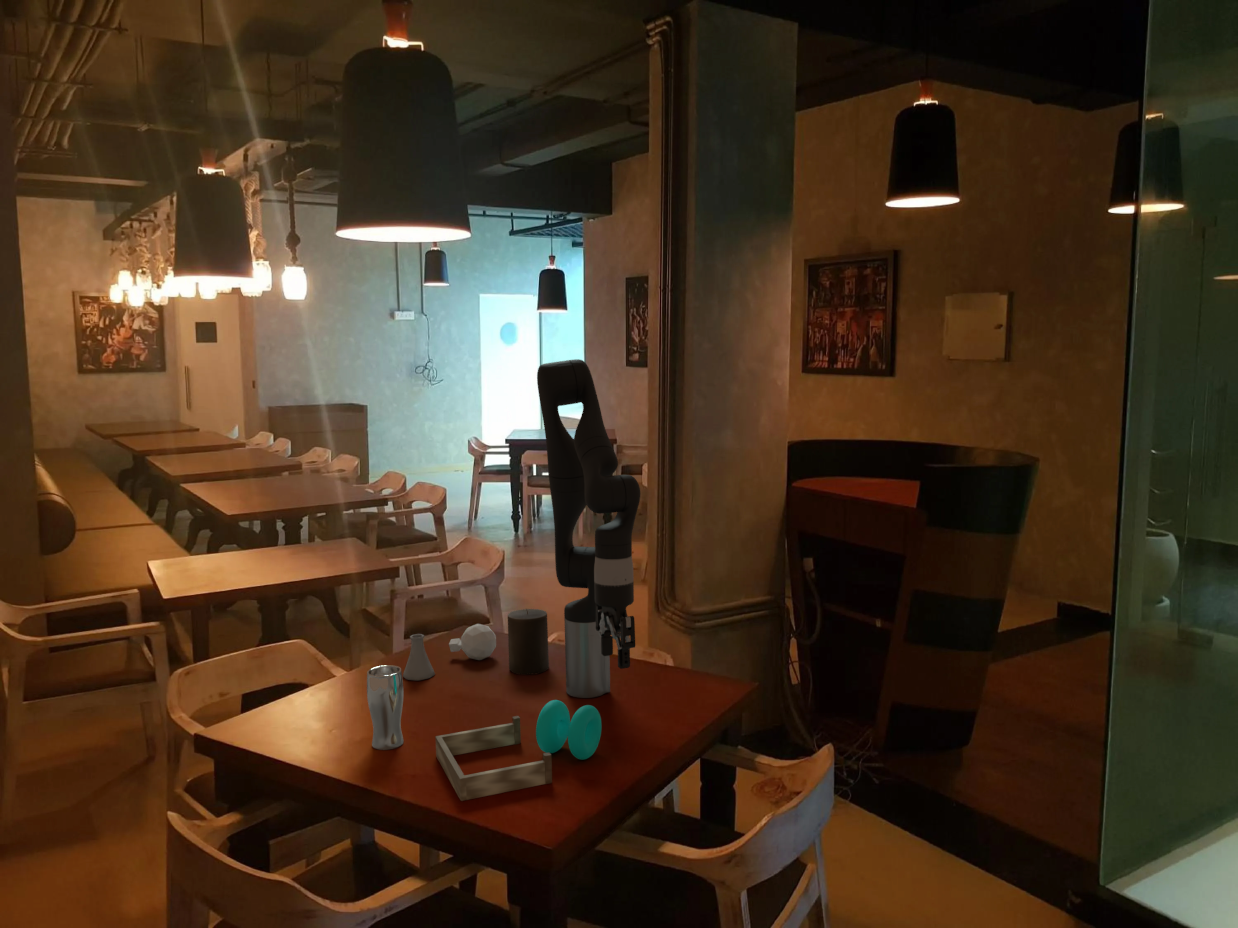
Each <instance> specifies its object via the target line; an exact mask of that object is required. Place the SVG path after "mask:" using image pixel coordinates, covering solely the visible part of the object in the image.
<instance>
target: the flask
mask: <svg viewBox="0 0 1238 928" xmlns="http://www.w3.org/2000/svg"><path fill="white" fill-rule="evenodd" d="M424 638H425V635H424V634H422V633H415V634H412V635H409V639H410V640H411V643H410V644H411V646H410V653H409V656H408V659H407V662H406V666H405V668H404V670H403V672H402V678H404V679H405V680H407V681H408V680H409V681H418V682H419V681H424V680H427V679H431V678H432V677H434V676H435V675H436V672H435V671H434V670H435V669H434V668H433V666H432V664H431V662H430V659H429V657H428V654H427V652H426V648H425V645H424Z"/></svg>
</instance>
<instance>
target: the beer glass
mask: <svg viewBox="0 0 1238 928" xmlns="http://www.w3.org/2000/svg"><path fill="white" fill-rule="evenodd" d="M403 681H404V680H403V671H402V668H401V667H400V666H398V665H392V664H391V665H389V664H388V665H387V664H386V665H379V666H374V667H372V668H370V669H368V670H367V672H366V697H367V703H368V709H369V713H370V719H371V721H372V727H373V729H372V730H373V731H372V733H373V735H372V741H371V746H372V748H373V749H376V750H378V751H379V750H380V751H389V750H394V749H397V748H399V747H401V746H402V745H403V744H404V736H403V733H402V728H401V727H402V726H401V724H402V723H401V722H402V720H401V719H402V714H403V713H402V712H403V704H404V682H403Z"/></svg>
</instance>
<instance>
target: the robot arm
mask: <svg viewBox="0 0 1238 928" xmlns="http://www.w3.org/2000/svg"><path fill="white" fill-rule="evenodd" d="M536 379H537V380H536V381H537V382H536V383H537V391H538V397H539V403H540V409H541V410H540V411H541V415H542V421H543V428H544V434H545V444H546V457H547V459H546V460H547V471H548V472H547V473H548V481H549V482H548V484H549V489H550V491H549V492H550V498H551V506H552V514H553V524H554V525H553V526H554V555H555V556H554V557H555V558H554V559H555V560H554V561H555V574H556V575H555V576H556V578H557V581H558V583H559V584H560V586H562V587H564V588H573V589H574V588H575V589H576V588H577V589H587V595H586V596H584V597H582V598H579V599H576V600H572V601H570V602H568V603H567V604H565V606H564V609H563V610H564V613H563V615H564V617H563V619H564V650H565V651H564V654H565V686H566V687H565V690H566V694H567V695H568V696H570V697H572V698H573V697H574V698H580V699H591V698H597V697H600V696H603V695H604V694H607V693H610V692H611V668H610V667H611V666H610V665H611V664H610V656H612V655H614V654H613V653H614V640H615V643H616V647H617V667H618V668H619V669H621V670H623V669H628V668H630V667H631V653H630V652H631V651H630V650H631V649H632V648H633V649H635V648H636V626H635V625H636V624H635V617H634V615H630V616H628V613H627V608H628V606H630V605H633V603H634V601H635V595H634V594H635V590H634V588H635V587H634V585H635V583H634V582H635V581H634V562H633V551H632V549H633V546H632V541H633V540H632V539H633V538H632V535H633V529H634V525H635V521H636V520H635V519H636V517H637V512H638V510H639V507H640V506H639V505H640V500H641V488H640V484H639V482H638V480H637V478H635V476H634V475H633V476H632V475H630V474H617V475H613V474H614V473H615V471H616V470H618V465H619V462H618V461H619V460H618V457H617V454H616V452H615V450H614V447H613V445H612V442H611V440H610V438H609V436H608V433H607V430H606V427H605V422H604V419H603V414H602V409H601V407H600V402H599V398H598V394H597V390H596V387H595V383H594V379H593V376H592V373H591V370H590V368H589V366H588V365H587V363H586V362H585V361H584V360H582V359H567V360H560V361H554V362H553V361H552V362H547V363H542V364H541V365H539V366H538V368H537V373H536ZM575 404H582V413H581V416H580V419H579V422H578V424H577V426H576V429H575V432H574V437H572V436H571V434H570V432H568V430H567V428H566V427H565V426H564V424H563V422H562V418H561V417H560V412H559V407H562V406H568V405H575ZM586 506H587V508H588V509H589V510H590V511H591V512H593V513H594V514H613V513H616V514H615V517H614V518H613V520H612V521H610V522H608V523H605V524H602V525H599V526H598V527H597V528H596V529H595V531H594V546H578V545H577V546H575V545H574V542H573V538H574V537H573V536H574V530H575V527H576V525H577V522H578V520H579V519H580V516H581V515H582V513H583V512H584V510H585V509H586Z"/></svg>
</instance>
